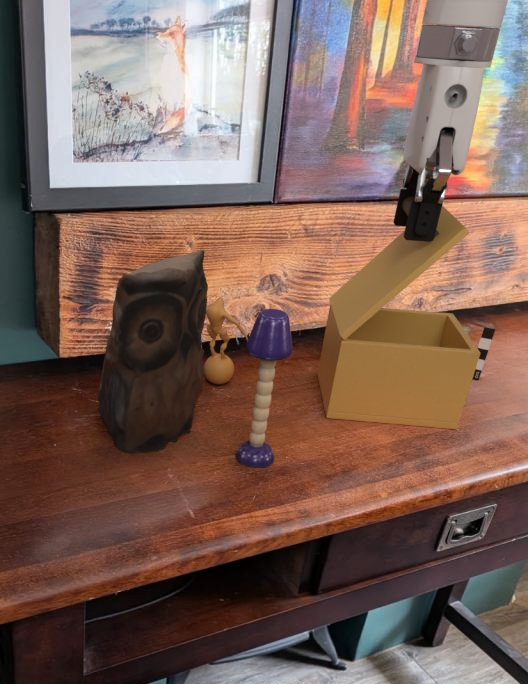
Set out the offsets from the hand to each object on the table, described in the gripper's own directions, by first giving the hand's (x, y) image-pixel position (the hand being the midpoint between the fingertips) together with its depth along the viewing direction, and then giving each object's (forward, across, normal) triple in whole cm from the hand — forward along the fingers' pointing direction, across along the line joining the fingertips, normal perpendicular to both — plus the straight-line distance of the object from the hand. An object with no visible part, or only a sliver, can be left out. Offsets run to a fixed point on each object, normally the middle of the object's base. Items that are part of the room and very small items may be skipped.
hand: (412, 231), depth 85 cm
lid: (+5, 0, +1) cm, 5 cm away
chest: (+21, 0, -1) cm, 21 cm away
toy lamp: (+21, -19, +16) cm, 33 cm away
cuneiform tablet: (+21, +14, -11) cm, 28 cm away
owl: (+21, -13, +29) cm, 38 cm away
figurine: (+21, 0, +21) cm, 30 cm away
